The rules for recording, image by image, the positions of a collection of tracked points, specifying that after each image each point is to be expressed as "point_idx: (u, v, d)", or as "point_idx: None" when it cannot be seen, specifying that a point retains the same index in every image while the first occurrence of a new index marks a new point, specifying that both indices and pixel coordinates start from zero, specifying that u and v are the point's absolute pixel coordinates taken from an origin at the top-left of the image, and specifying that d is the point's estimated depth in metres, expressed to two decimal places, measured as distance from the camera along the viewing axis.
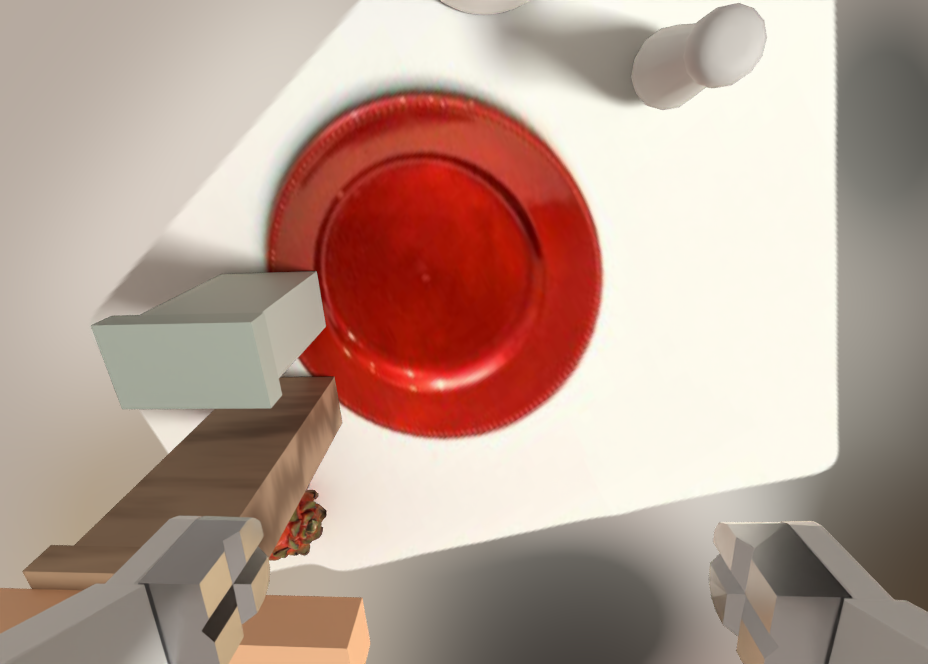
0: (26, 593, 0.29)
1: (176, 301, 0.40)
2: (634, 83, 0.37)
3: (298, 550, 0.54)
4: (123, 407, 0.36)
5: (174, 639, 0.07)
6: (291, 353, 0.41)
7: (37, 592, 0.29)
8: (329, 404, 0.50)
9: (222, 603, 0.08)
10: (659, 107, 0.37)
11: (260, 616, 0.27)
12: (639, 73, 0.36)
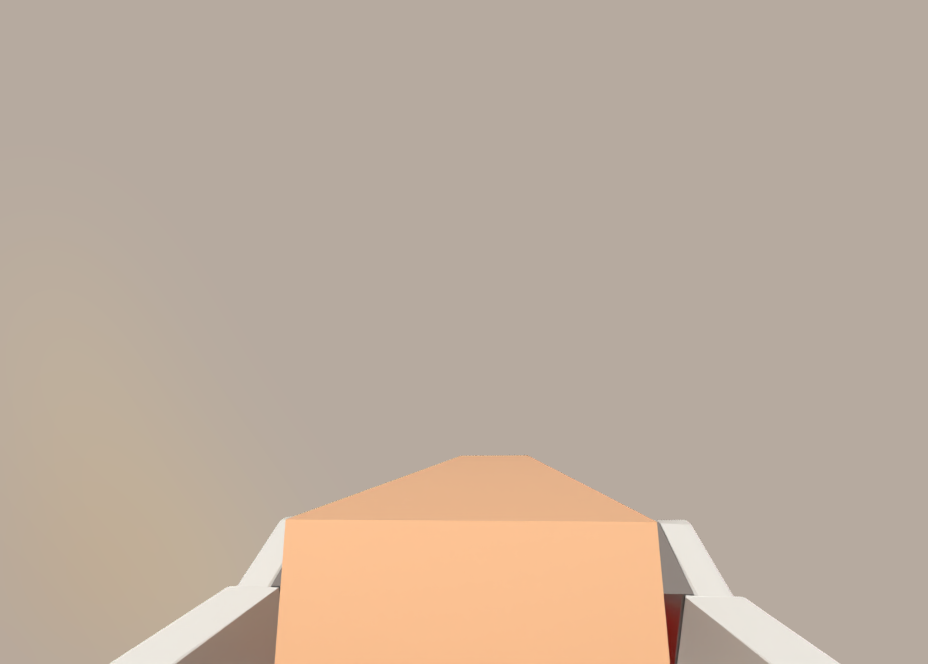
0: None
1: None
2: None
3: None
4: None
5: None
6: None
7: None
8: None
9: None
10: None
11: None
12: None
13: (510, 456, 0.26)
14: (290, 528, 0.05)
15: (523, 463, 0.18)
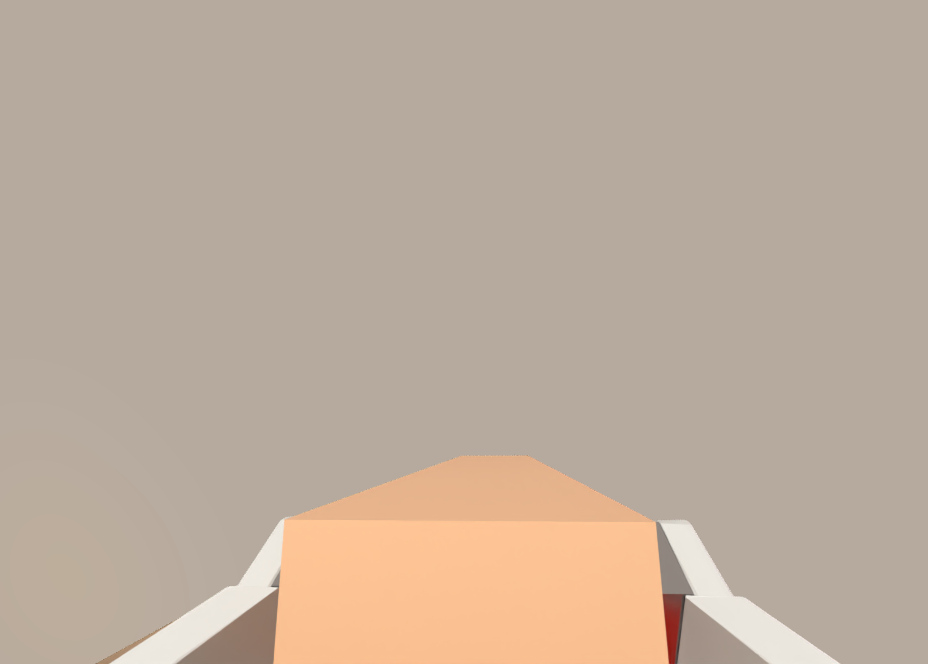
0: None
1: None
2: None
3: None
4: None
5: None
6: None
7: None
8: None
9: None
10: None
11: None
12: None
13: (510, 456, 0.26)
14: (289, 527, 0.05)
15: (523, 463, 0.18)
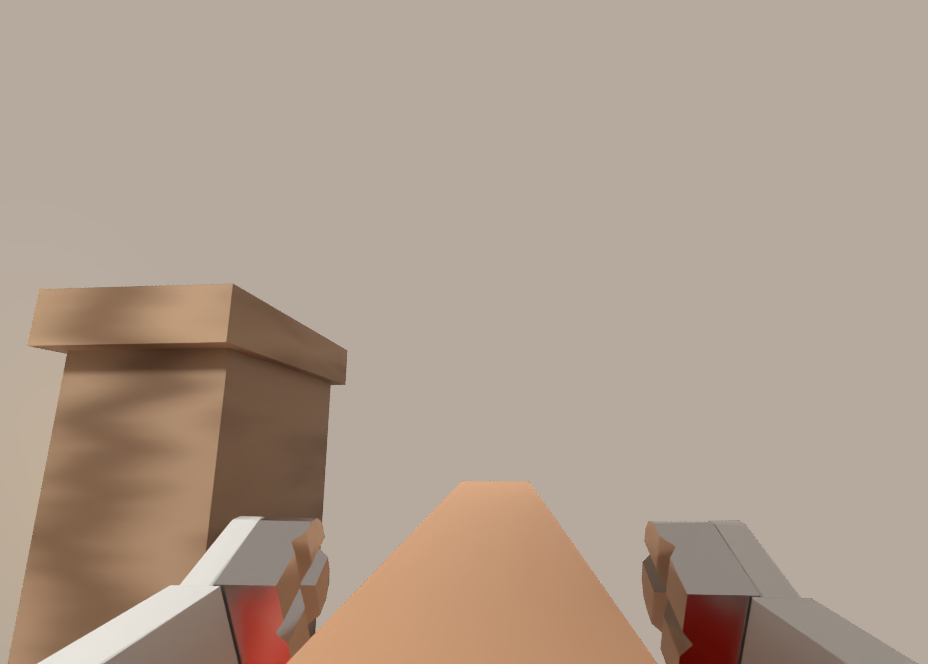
0: None
1: None
2: None
3: None
4: None
5: (247, 641, 0.07)
6: None
7: None
8: None
9: (291, 605, 0.07)
10: None
11: None
12: None
13: (511, 484, 0.26)
14: None
15: (525, 505, 0.18)
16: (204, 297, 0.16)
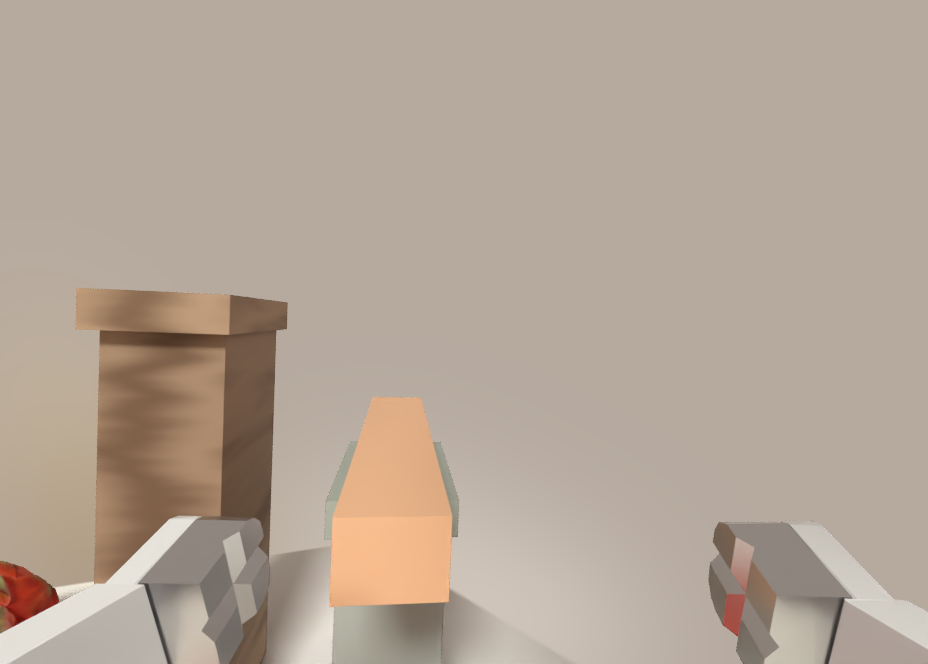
0: None
1: None
2: None
3: None
4: (352, 442, 0.36)
5: (174, 639, 0.07)
6: (350, 617, 0.26)
7: None
8: None
9: (222, 603, 0.08)
10: None
11: None
12: None
13: (408, 401, 0.38)
14: (333, 519, 0.16)
15: (416, 426, 0.29)
16: (210, 303, 0.23)
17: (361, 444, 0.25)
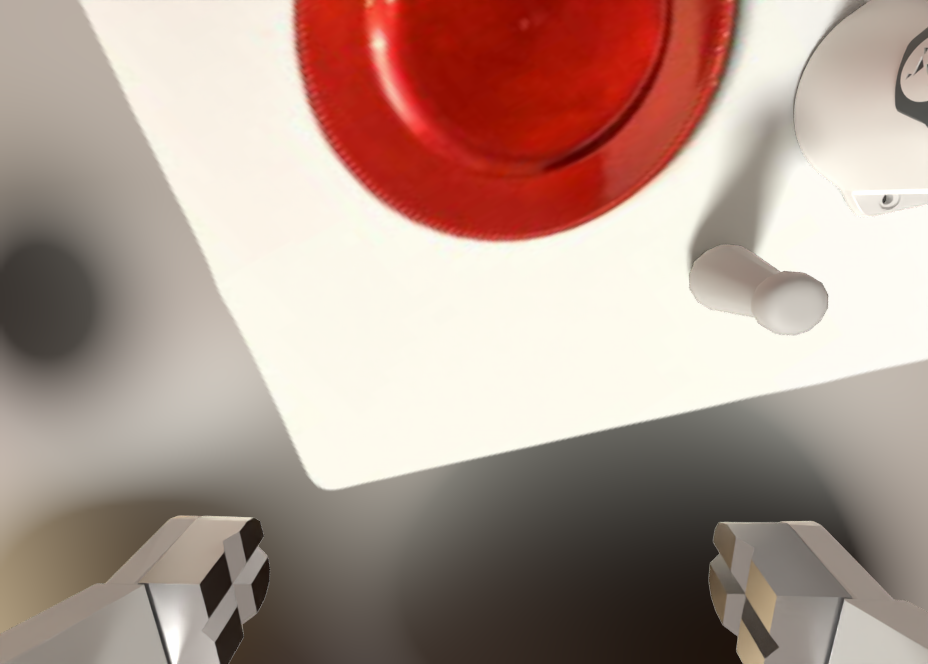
0: None
1: None
2: (718, 247, 0.40)
3: None
4: None
5: (174, 639, 0.07)
6: None
7: None
8: None
9: (223, 603, 0.08)
10: (694, 272, 0.40)
11: None
12: (732, 248, 0.39)
13: None
14: None
15: None
16: None
17: None
